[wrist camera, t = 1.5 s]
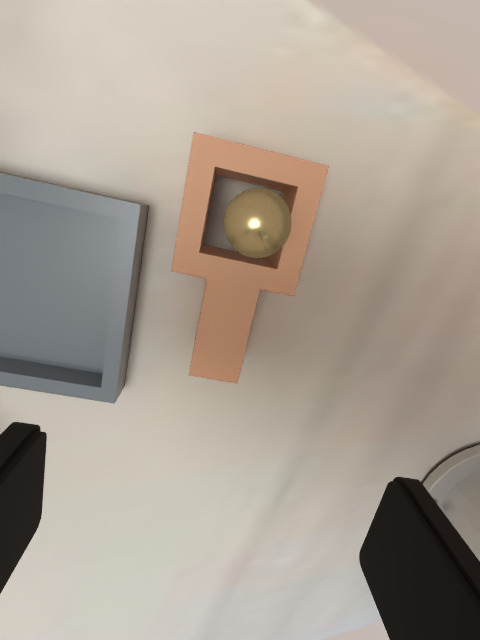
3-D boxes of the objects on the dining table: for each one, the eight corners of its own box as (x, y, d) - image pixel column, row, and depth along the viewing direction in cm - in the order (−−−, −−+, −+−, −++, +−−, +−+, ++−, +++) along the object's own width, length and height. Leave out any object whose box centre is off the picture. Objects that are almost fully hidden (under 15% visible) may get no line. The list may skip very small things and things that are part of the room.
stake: (266, 202, 23) (299, 196, 13) (257, 242, 23) (281, 264, 14) (226, 193, 22) (232, 180, 13) (218, 234, 23) (218, 250, 14)
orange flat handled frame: (307, 174, 22) (329, 166, 18) (260, 359, 26) (268, 388, 22) (199, 147, 21) (193, 132, 17) (166, 342, 25) (155, 369, 21)
